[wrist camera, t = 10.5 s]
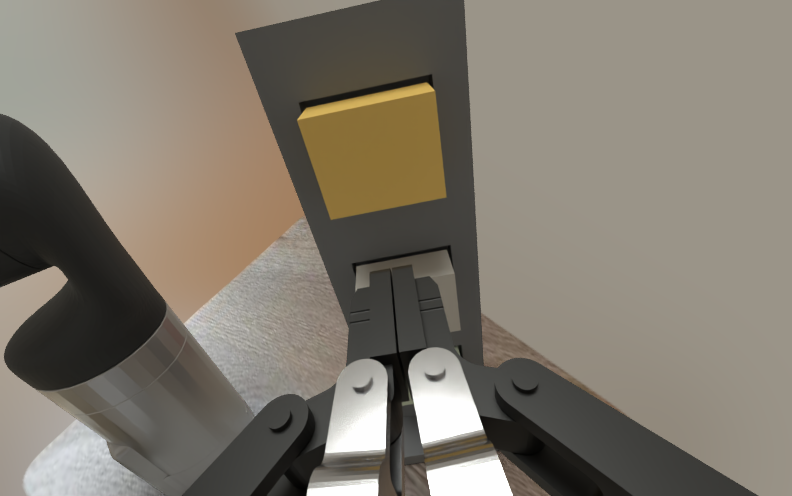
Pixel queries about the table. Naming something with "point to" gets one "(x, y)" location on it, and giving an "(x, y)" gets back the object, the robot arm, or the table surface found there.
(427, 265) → the key middle
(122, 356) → the robot arm
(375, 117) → the key top
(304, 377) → the table surface
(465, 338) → the keypad panel
